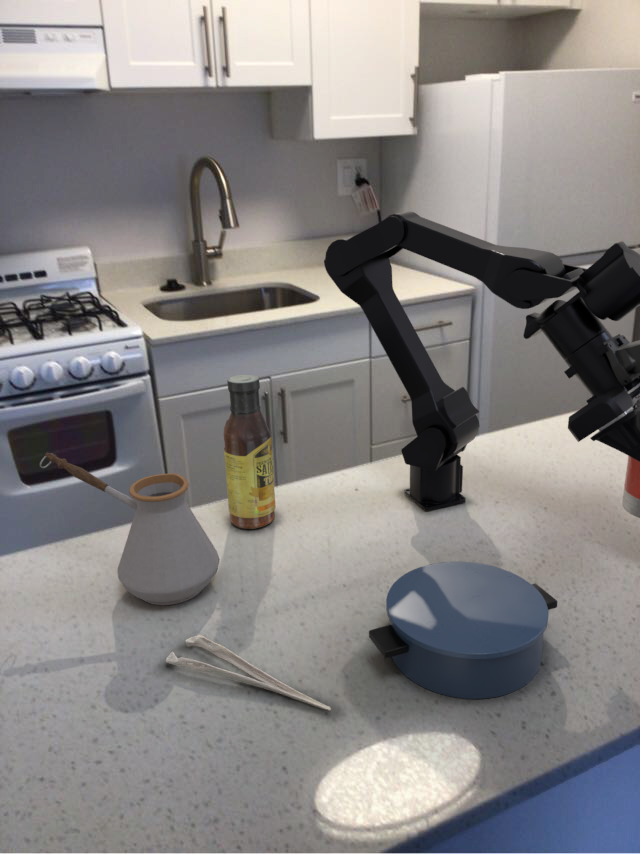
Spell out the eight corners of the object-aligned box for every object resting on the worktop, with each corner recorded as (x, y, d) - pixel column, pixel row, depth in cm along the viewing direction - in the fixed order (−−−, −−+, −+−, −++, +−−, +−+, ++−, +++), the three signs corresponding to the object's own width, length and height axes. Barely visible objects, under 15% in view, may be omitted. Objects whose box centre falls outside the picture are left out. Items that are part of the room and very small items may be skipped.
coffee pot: (238, 569, 90) (228, 453, 85) (188, 624, 80) (173, 497, 75) (92, 541, 98) (74, 434, 93) (30, 588, 88) (6, 471, 83)
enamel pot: (416, 728, 65) (416, 679, 63) (344, 629, 79) (343, 586, 77) (595, 667, 72) (600, 621, 70) (500, 585, 85) (502, 545, 83)
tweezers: (162, 667, 74) (161, 651, 73) (193, 641, 78) (192, 625, 77) (317, 739, 66) (317, 721, 65) (342, 706, 70) (343, 689, 69)
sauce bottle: (269, 533, 98) (259, 387, 91) (223, 530, 100) (210, 386, 92) (281, 510, 104) (273, 371, 97) (238, 507, 105) (226, 370, 98)
